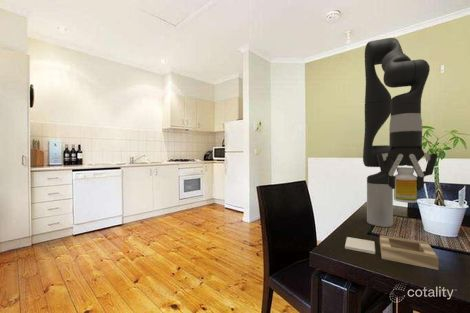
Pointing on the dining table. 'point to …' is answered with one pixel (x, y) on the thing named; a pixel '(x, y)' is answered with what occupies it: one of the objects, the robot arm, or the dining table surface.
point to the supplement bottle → (405, 185)
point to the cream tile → (360, 245)
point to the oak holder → (408, 252)
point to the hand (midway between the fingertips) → (405, 189)
